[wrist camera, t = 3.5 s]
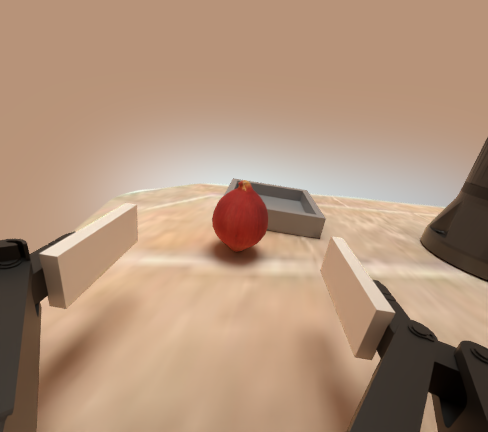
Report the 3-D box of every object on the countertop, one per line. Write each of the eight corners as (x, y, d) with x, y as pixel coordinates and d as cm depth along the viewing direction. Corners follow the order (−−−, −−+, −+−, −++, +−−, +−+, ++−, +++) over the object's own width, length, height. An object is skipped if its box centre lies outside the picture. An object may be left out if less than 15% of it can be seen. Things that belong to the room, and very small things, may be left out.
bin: (231, 193, 45) (233, 178, 44) (303, 205, 45) (307, 190, 44) (218, 222, 32) (220, 201, 31) (319, 238, 32) (325, 218, 31)
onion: (224, 233, 30) (232, 170, 27) (268, 247, 28) (282, 181, 25) (199, 253, 25) (206, 178, 22) (250, 272, 23) (265, 193, 20)
